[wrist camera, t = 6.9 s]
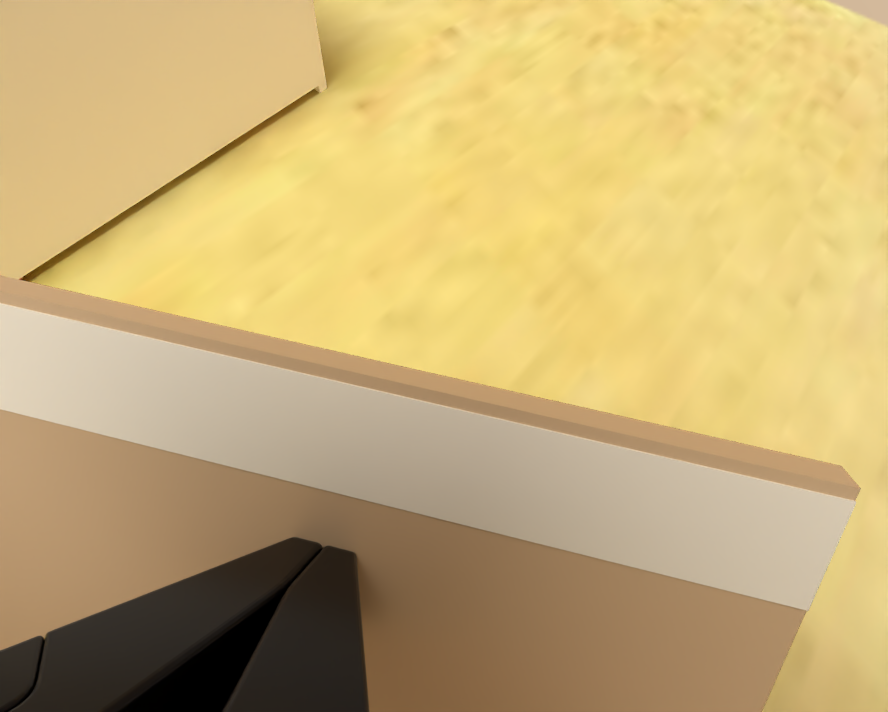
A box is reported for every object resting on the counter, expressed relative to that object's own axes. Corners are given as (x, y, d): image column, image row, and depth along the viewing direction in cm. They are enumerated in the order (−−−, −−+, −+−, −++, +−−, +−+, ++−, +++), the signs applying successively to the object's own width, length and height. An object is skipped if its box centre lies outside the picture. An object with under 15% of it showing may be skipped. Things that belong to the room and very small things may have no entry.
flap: (862, 489, 7) (839, 464, 7) (-93, 270, 8) (-53, 262, 8) (620, 1034, 10) (617, 989, 10) (-37, 822, 11) (-11, 791, 12)
